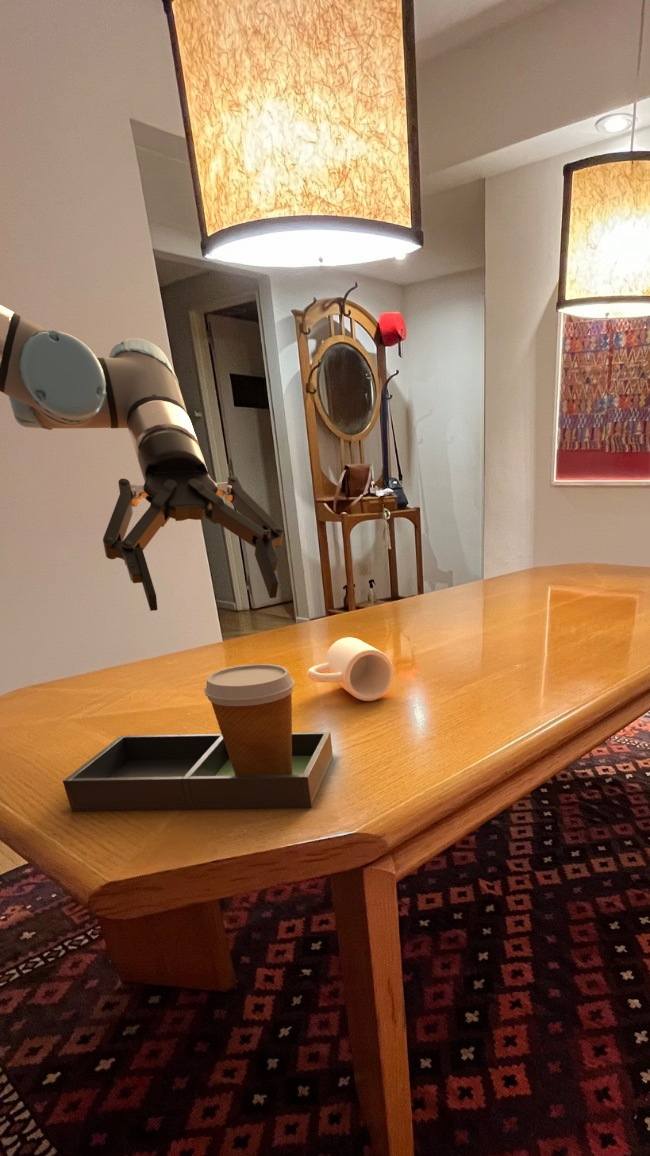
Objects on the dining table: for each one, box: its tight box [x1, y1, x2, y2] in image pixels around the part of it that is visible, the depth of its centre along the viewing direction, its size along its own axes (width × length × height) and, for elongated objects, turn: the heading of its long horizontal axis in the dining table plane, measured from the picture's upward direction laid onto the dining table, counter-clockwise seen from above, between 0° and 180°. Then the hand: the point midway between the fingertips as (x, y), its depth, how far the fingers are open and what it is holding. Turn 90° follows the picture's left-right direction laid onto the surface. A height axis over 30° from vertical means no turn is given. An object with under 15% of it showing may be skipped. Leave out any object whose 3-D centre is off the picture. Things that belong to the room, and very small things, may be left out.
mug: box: [307, 636, 395, 702], centre depth 106 cm, size 12×10×8 cm
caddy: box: [62, 731, 334, 812], centre depth 77 cm, size 26×13×4 cm, turn 89°
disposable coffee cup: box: [203, 663, 296, 776], centre depth 75 cm, size 10×10×12 cm
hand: (216, 597), depth 78 cm, fingers open, 13 cm apart
